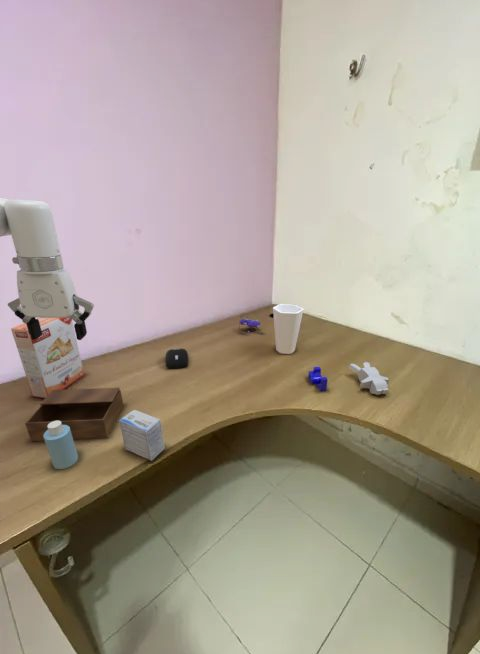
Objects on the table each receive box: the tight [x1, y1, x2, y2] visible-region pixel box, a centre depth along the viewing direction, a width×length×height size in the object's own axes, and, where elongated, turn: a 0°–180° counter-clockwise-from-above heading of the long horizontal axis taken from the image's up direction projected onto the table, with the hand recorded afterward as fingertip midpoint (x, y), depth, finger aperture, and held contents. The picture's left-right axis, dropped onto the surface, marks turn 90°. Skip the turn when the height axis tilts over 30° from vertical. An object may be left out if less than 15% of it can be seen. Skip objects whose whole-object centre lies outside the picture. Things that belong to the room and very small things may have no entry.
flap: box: [39, 387, 121, 406], centre depth 79 cm, size 16×6×1 cm, turn 97°
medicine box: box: [119, 409, 166, 462], centre depth 69 cm, size 8×4×9 cm, turn 65°
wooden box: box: [25, 389, 124, 442], centre depth 77 cm, size 17×13×5 cm
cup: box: [272, 303, 304, 355], centre depth 117 cm, size 11×10×17 cm
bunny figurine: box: [348, 361, 390, 396], centre depth 99 cm, size 10×5×15 cm
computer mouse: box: [165, 348, 189, 369], centre depth 109 cm, size 8×12×4 cm, turn 15°
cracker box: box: [10, 317, 85, 399], centre depth 88 cm, size 14×6×21 cm, turn 170°
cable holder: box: [307, 366, 329, 392], centre depth 98 cm, size 8×4×4 cm, turn 10°
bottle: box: [43, 421, 79, 470], centre depth 65 cm, size 5×5×10 cm
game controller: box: [238, 315, 264, 335], centre depth 136 cm, size 10×8×10 cm
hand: (59, 337), depth 73 cm, fingers open, 9 cm apart
